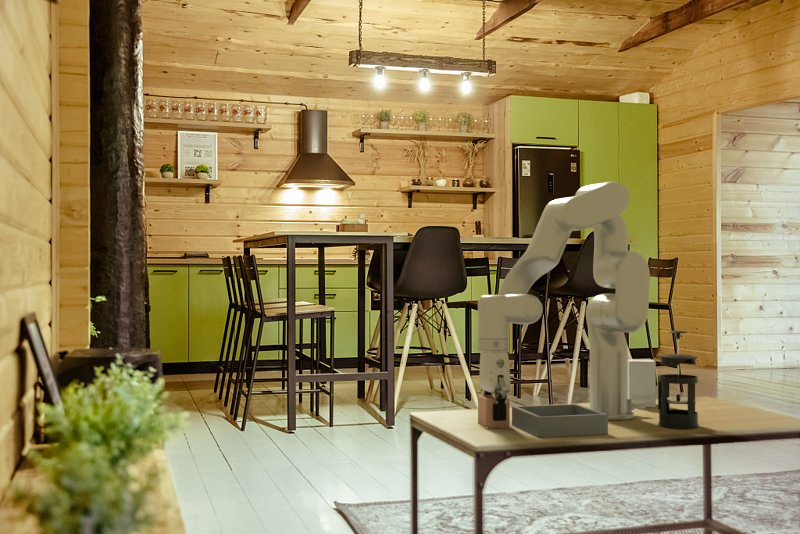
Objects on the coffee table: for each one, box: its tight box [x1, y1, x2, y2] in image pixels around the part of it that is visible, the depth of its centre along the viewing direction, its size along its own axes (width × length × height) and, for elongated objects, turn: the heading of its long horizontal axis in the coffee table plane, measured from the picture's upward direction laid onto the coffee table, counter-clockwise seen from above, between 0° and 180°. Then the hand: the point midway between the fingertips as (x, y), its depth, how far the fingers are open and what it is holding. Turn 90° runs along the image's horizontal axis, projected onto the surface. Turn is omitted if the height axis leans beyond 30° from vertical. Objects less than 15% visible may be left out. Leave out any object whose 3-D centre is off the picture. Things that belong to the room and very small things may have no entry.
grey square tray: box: [511, 403, 609, 438], centre depth 210 cm, size 17×17×4 cm
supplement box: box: [628, 358, 657, 408], centre depth 248 cm, size 7×7×13 cm
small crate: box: [477, 395, 511, 429], centre depth 216 cm, size 6×6×7 cm
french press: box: [657, 330, 700, 430], centre depth 215 cm, size 12×9×23 cm
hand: (493, 417), depth 216 cm, fingers open, 7 cm apart
